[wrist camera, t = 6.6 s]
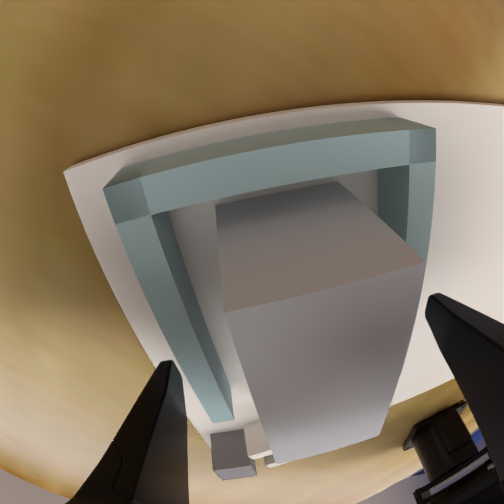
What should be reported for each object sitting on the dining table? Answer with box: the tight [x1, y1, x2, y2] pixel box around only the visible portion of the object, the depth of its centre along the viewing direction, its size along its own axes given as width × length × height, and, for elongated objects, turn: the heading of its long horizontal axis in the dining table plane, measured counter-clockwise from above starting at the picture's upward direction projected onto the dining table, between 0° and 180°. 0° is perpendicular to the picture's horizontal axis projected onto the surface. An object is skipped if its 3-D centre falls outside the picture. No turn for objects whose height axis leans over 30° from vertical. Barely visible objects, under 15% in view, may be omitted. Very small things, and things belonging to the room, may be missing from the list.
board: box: [63, 100, 504, 448], centre depth 14 cm, size 19×24×1 cm
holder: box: [103, 117, 436, 423], centre depth 11 cm, size 9×11×2 cm
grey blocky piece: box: [210, 429, 257, 480], centre depth 16 cm, size 5×6×3 cm
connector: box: [215, 181, 425, 464], centre depth 10 cm, size 4×11×5 cm, turn 10°
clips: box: [243, 420, 291, 468], centre depth 16 cm, size 5×5×2 cm
